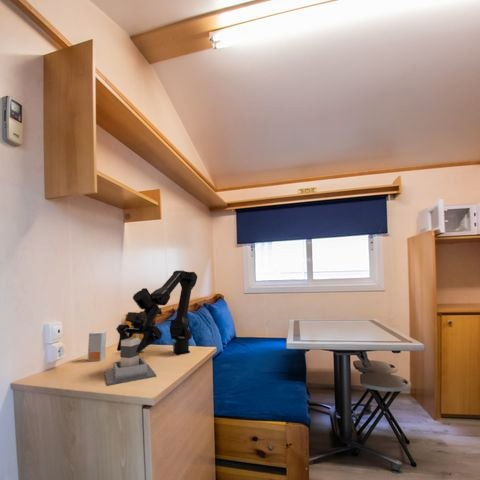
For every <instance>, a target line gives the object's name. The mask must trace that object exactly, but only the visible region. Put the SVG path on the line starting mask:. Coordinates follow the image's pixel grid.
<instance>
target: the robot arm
mask: <svg viewBox="0 0 480 480" xmlns="http://www.w3.org/2000/svg"><path fill="white" fill-rule="evenodd" d="M197 280H198V275H197V273H196V272H195V271H185V270H183V269H182V270H174V271H173V273H172V275H171V276H170V277H169V278H168V279H167V280H166V281H165V283H164V284H163V285H162V286H161V287H159V288H157V289H155V290H154V291H153V292H151V293H150V292H149V289H148V288H145V287H143V288H142V289H141V290H139V291H137V292H136V293H134V294H133V296H132V300H133V301H134V303H136V306H137V307H138V308H139V309H140V310H143V311H139V312H133V311H132V312H131V311H128V312H127V314H126V317H125V322H129V323H131V324H130V325H131V327H133V328H131V327H130V325H129V324H126V323H125V324H122V323H120V324H118V325H117V327H116V332H117V333H118V334H119V340H118V343H117V348H116V351H117V352H120V350H121V340H124V339H128V338H133V336H134V335H136V334H139V335H143V337H142V339H140V340H141V342H140V344H139V346H138V348H137V350H136V352H137V353H139V354H140V353H141V352H140V351H141V350H143V349H144V348H145V349H146V348H147V347H148V346H150V345H151V344H153V343H154V342H155V343H156V342H157V341H159V340H161V339H162V335H163V333H162V331H161V329H160V328H159V326H158V325H155V322H154V321H155V319H156V318H157V316H158V315H163V311H162V307H159V306H166V305H167V304H168V303H169V301H170V300H171V295H172V292H173V291H174V289H175V288H176V287H178V285H180V287H181V291H180V295H179V301H178V306H177V310H176V311H177V312H176V316H175V318H174V319H171V320H170V326H169V334H170V338H171V339H170V340H173V343H172V349H173V350H172V353H174V354H175V355H181V354H182V355H183V354H189V353H191V351H190V347H189V345H190V343H189V341H190V340H191V339H192V336H193V333H192V332H191V330H190V329H189V325H190V324H189V321H188V319H187V318H188V317H187V316H188V311H189V307H190V299H191V295H192V290H193V289H194V287H195V286H196V283H197Z"/></svg>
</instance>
